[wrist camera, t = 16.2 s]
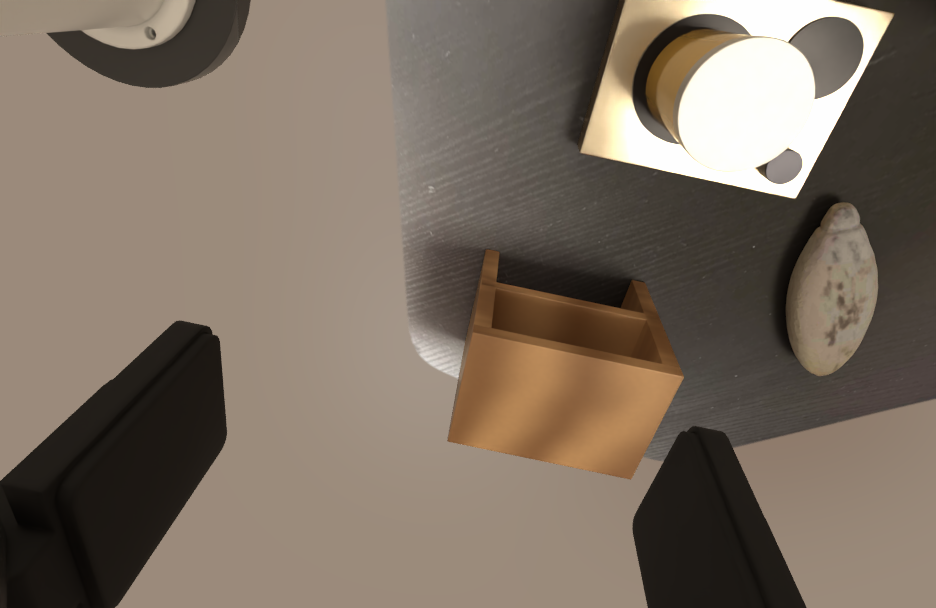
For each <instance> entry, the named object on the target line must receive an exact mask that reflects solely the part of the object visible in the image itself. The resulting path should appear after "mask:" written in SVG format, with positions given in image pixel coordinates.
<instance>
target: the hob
mask: <svg viewBox="0 0 936 608" xmlns="http://www.w3.org/2000/svg"><path fill="white" fill-rule="evenodd" d="M893 16H894V13H893V12H888V11H884V10H879V9H874V8H870V7H865V6H861V5H856V4H852V3H847V2H843V1H838V0H619V2H618V6H617V9H616V13H615V16H614V20H613V23H612V26H611V30H610V33H609V37H608V40H607V44H606V47H605V50H604V54H603V57H602V61H601V64H600V68H599V71H598V74H597V78H596V81H595V85H594V88H593V92H592V95H591V98H590V102H589V105H588V109H587V112H586V116H585V119H584V122H583V126H582V129H581V133H580V136H579V140H578V143H577V145H578V148H579V151H580V153H582V154H586V155H591V156H596V157H600V158H605V159H610V160H614V161H619V162H624V163H628V164H633V165H637V166H642V167H647V168H651V169H656V170H661V171H665V172H670V173H675V174H679V175H684V176H689V177H693V178H698V179H703V180H707V181H712V182H717V183H721V184H726V185H731V186H735V187H740V188H745V189H749V190H754V191H758V192H763V193H768V194H772V195H777V196H782V197H786V198H791V199H796V197H797V196H798V194H799V192H800V190H801V188H802V186H803V184H804V182H805V181H806V179H807V177H808V175H809V173H810V171H811V169H812V168H813V166H814V164H815V162H816V160H817V158H818V156H819V154H820V153H821V151H822V149H823V147H824V145H825V143H826V141H827V140H828V138H829V136H830V134H831V132H832V130H833V128H834V127H835V125H836V123H837V121H838V119H839V117H840V115H841V113H842V112H843V110H844V108H845V106H846V104H847V102H848V100H849V99H850V97H851V95H852V93H853V91H854V89H855V87H856V85H857V84H858V82H859V80H860V78H861V76H862V74H863V72H864V71H865V69H866V67H867V65H868V63H869V61H870V59H871V57H872V56H873V54H874V52H875V50H876V48H877V46H878V44H879V43H880V41H881V39H882V37H883V35H884V33H885V31H886V29H887V28H888V26H889V24H890V22H891V20H892V18H893ZM700 29H715V30H721V31H727V32H732V33H738V34H744V35H762V36H769V37H775V38H779V39H782V40H785V41H787V42H789V43H791V44H793V45H794V46H795V47H797V48H798V49H799V50H800V51H801V52H802V53H803V54H804V55H805V57H806V58H807V59H808V61H809V63H810V65H811V67H812V70H813V73H814V77H815V86H816V89H815V100H814V105H813V108H812V112H811V115H810V117H809V119H808V121H807V123H806V125H805V127H804V129H803V130H802V132H801V133H800V134H799V136H798V137H797V139H796V140H795V141H794V142H793V143H792V144H791V145H790V146H789V147H788V148H787V149H786V150H785V151H784V152H783V153H781V154H780V155H779V156H777V157H776V158H774V159H773V160H771V161H769V162H768V163H766V164H763V165H761V166H759V167H756V168H753V169H750V170H746V171H742V172H719V171H715V170H711V169H708V168H706V167H704V166H702V165H700V164H699V163H697V162H696V161H695V160H694V159H692V158H691V157H690V156H689V155H688V154H687V153H686V152H685V150H684V149H683V148H682V147H681V145H680V143H679V142H678V141H677V140H676V139H675V138H673V137H672V136H671V135H670V134H669V133H668V132H667V131H666V130H665V129H664V128H663V127H662V126H661V125H660V124H659V123H658V122H657V121H656V120H655V119H654V117H653V116H652V114H651V112H650V110H649V108H648V105H647V101H646V83H647V78H648V74H649V72H650V69H651V67H652V65H653V63H654V61H655V60H656V58H657V57H658V55H659V54H660V53H661V52H662V50H663V49H664V48H665V47H666V46H667V45H668V44H669V43H671V42H672V41H673V40H675V39H676V38H678V37H680V36H681V35H683V34H686V33H688V32H691V31H695V30H700Z"/></svg>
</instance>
